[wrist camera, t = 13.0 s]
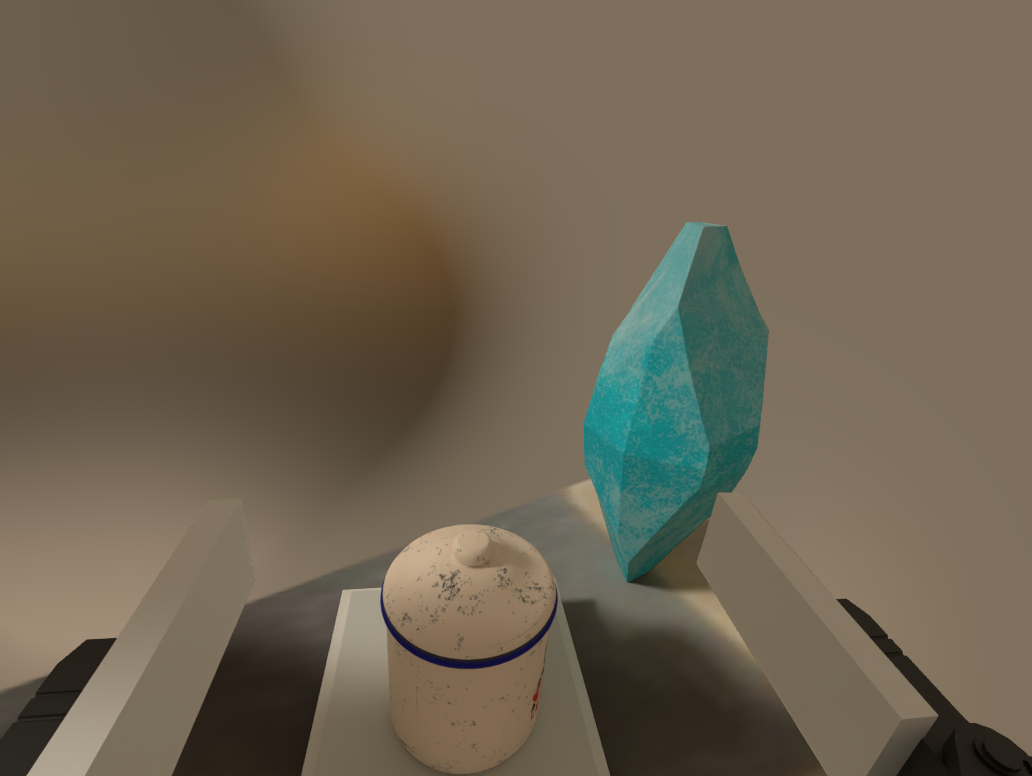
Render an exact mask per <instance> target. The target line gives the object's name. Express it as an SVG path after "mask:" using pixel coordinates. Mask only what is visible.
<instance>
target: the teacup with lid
mask: <svg viewBox="0 0 1032 776" xmlns="http://www.w3.org/2000/svg"><path fill="white" fill-rule="evenodd" d="M380 604H381V612H382V616H383V619H384V622H385V624H386V629H387V652H388V676H389V699H390V714H391V719H392V723H393V726H394V729H395V732H396V734H397V736H398V738H399V739H400V741H401V743H402V744H403V745H404V747H405V748H406V749H407V750H408V751H409V752H410V753H411V755H413V756H414V757H415V758H416V759H417V760H419V761H420V762H422V763H423V764H425V765H427V766H429V767H431V768H433V769H436V770H439V771H442V772H446V773H453V774H471V773H477V772H481V771H484V770H488V769H490V768H493V767H495V766H497V765H499V764H501V763H502V762H504V761H505V760H507V759H508V758H510V757H511V756H512V755H513V754H514V753H515V752H516V751H517V750H518V749H519V748H520V747H521V746H522V745H523V744H524V742H525V741H526V740H527V738H528V736H529V735H530V733H531V731H532V729H533V727H534V724H535V721H536V718H537V714H538V710H539V703H540V695H541V688H542V680H543V673H544V665H545V658H546V650H547V643H548V635H549V628H550V626H551V624H552V622H553V620H554V617H555V614H556V610H557V604H558V592H557V586H556V582H555V579H554V576H553V573H552V570H551V568H550V566H549V565H548V563H547V561H546V560H545V558H544V557H543V556H542V555H541V553H540V552H539V551H538V550H537V549H536V548H535V547H534V546H533V545H531V544H530V543H529V542H527V541H526V540H524V539H523V538H521V537H519V536H518V535H516V534H513V533H511V532H509V531H506V530H503V529H500V528H496V527H492V526H486V525H473V524H470V525H456V526H450V527H445V528H442V529H438V530H435V531H433V532H430V533H428V534H425V535H424V536H422V537H420V538H418V539H416V540H415V541H413V542H412V543H411V544H409V545H408V546H407V547H406V548H405V549H404V550H402V552H401V553H400V554H399V555H398V556H397V557H396V559H395V560H394V561H393V563H392V564H391V566H390V568H389V570H388V572H387V574H386V577H385V579H384V582H383V585H382V589H381V596H380Z"/></svg>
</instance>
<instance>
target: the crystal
mask: <svg viewBox="0 0 1032 776" xmlns="http://www.w3.org/2000/svg"><path fill="white" fill-rule="evenodd" d="M768 334H769V330H768V328H767V326H766V324H765V322H764V320H763V318H762V317H761V315H760V313H759V311H758V308H757V306H756V303H755V301H754V298H753V296H752V294H751V291H750V289H749V287H748V284H747V282H746V279H745V277H744V274H743V272H742V269H741V267H740V264H739V261H738V258H737V255H736V252H735V249H734V247H733V243H732V240H731V237H730V234H729V231H728V228H727V226H722V225H715V224H709V223H701V222H687V223H686V224H685V226H684V227H683V229H682V230H681V232H680V234H679V235H678V237H677V238H676V240H675V241H674V243H673V244H672V246H671V248H670V249H669V251H668V252H667V254H666V255H665V257H664V258H663V260H662V262H661V263H660V265H659V266H658V268H657V269H656V271H655V272H654V274H653V275H652V277H651V279H650V280H649V282H648V283H647V285H646V286H645V288H644V289H643V291H642V292H641V294H640V296H639V297H638V299H637V300H636V302H635V303H634V305H633V307H632V308H631V310H630V311H629V313H628V314H627V316H626V317H625V319H624V320H623V322H622V323H621V325H620V326H619V327H618V329H617V330H616V332H615V333H614V334H613V337H612V339H611V342H610V345H609V348H608V351H607V353H606V356H605V359H604V362H603V365H602V367H601V370H600V373H599V376H598V379H597V382H596V385H595V389H594V392H593V395H592V399H591V402H590V405H589V408H588V412H587V414H586V418H585V421H584V453H585V467H586V469H587V471H588V474H589V476H590V478H591V480H592V482H593V485H594V487H595V489H596V492H597V496H598V499H599V502H600V506H601V509H602V512H603V516H604V519H605V522H606V526H607V529H608V532H609V536H610V539H611V542H612V546H613V549H614V552H615V556H616V559H617V561H618V564H619V566H620V568H621V570H622V572H623V574H624V576H625V579H626V581H627V582H631V581H632V580H634V579H636V578H638V577H640V576H642V575H644V574H646V573H648V572H649V571H650V570H651V569H652V568H653V567H654V566H655V565H656V564H657V563H659V562H660V561H661V560H662V559H663V558H664V557H665V556H666V555H667V554H668V553H669V552H670V551H671V550H672V549H674V548H675V547H676V546H677V545H678V544H679V543H680V542H681V541H683V540H684V539H685V538H686V537H687V536H688V535H689V534H690V533H692V532H693V531H694V530H695V529H696V528H697V527H698V526H700V525H701V524H702V523H703V522H704V521H705V520H706V519H708V518H709V517H710V516H711V514H712V511H713V507H714V504H715V501H716V497H717V494H718V493H731V492H732V491H733V489H734V488H735V487H736V485H737V484H738V482H739V481H740V479H741V478H742V476H743V475H744V473H745V472H746V470H747V468H748V467H749V464H750V462H751V460H752V458H753V456H754V454H755V451H756V449H757V445H758V436H759V429H760V420H761V412H762V402H763V392H764V379H765V368H766V357H767V356H766V355H767V346H768Z"/></svg>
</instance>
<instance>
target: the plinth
mask: <svg viewBox="0 0 1032 776" xmlns="http://www.w3.org/2000/svg"><path fill="white" fill-rule="evenodd" d="M554 579H555V578H554ZM555 582H556V580H555ZM556 586H557V584H556ZM381 589H382V588H370V589H352V590H343V592H342V596H341V601H340V605H339V609H338V614H337V618H336V623H335V627H334V632H333V636H332V641H331V645H330V650H329V654H328V658H327V663H326V667H325V672H324V676H323V681H322V685H321V690H320V694H319V698H318V703H317V707H316V712H315V716H314V721H313V725H312V730H311V734H310V739H309V743H308V747H307V752H306V756H305V761H304V765H303V770H302V774H301V776H610V773H609V770H608V766H607V762H606V759H605V755H604V752H603V748H602V745H601V741H600V737H599V734H598V730H597V727H596V723H595V719H594V716H593V712H592V709H591V705H590V702H589V698H588V694H587V691H586V687H585V684H584V680H583V677H582V673H581V669H580V666H579V662H578V659H577V655H576V652H575V648H574V644H573V641H572V637H571V634H570V630H569V626H568V623H567V619H566V616H565V612H564V609H563V605H562V601H561V598H560V594H559V591H558V587H557V592H558V604H557V610H556V614H555V617H554V620H553V622H552V624H551V626H550V628H549V635H548V643H547V650H546V658H545V665H544V673H543V680H542V688H541V695H540V703H539V710H538V714H537V718H536V721H535V724H534V727H533V729H532V731H531V733H530V735H529V736H528V738H527V740H526V741H525V742H524V744H523V745H522V746H521V747H520V748H519V749H518V750H517V751H516V752H515V753H514V754H513V755H512V756H511V757H510V758H508V759H507V760H505V761H504V762H502V763H501V764H499V765H497V766H495V767H493V768H490V769H488V770H484V771H481V772H477V773H471V774H453V773H446V772H442V771H439V770H436V769H433V768H431V767H429V766H427V765H425V764H423V763H422V762H420V761H419V760H417V759H416V758H415V757H414V756H413V755H411V753H410V752H409V751H408V750H407V749H406V748H405V747H404V745H403V744H402V743H401V741H400V739H399V738H398V736H397V734H396V732H395V729H394V726H393V723H392V719H391V714H390V699H389V676H388V652H387V629H386V624H385V622H384V619H383V616H382V612H381V604H380V596H381Z"/></svg>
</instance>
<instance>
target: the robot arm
mask: <svg viewBox="0 0 1032 776" xmlns="http://www.w3.org/2000/svg"><path fill="white" fill-rule="evenodd" d="M696 564H697V566H698V568H699V569H700V571H701V572H702V574H703V576H704V577H705V579H706V580H707V582H708V584H709V585H710V587H711V588H712V590H713V592H714V593H715V595H716V597H717V598H718V600H719V601H720V603H721V605H722V606H723V608H724V609H725V611H726V613H727V614H728V616H729V617H730V619H731V621H732V622H733V624H734V626H735V627H736V629H737V630H738V632H739V634H740V635H741V637H742V638H743V640H744V642H745V643H746V645H747V647H748V648H749V650H750V651H751V653H752V655H753V656H754V658H755V659H756V661H757V663H758V664H759V666H760V667H761V669H762V671H763V672H764V674H765V676H766V677H767V679H768V680H769V682H770V684H771V685H772V687H773V688H774V690H775V692H776V693H777V695H778V696H779V698H780V700H781V701H782V703H783V705H784V706H785V708H786V709H787V711H788V713H789V714H790V716H791V717H792V719H793V721H794V722H795V724H796V725H797V727H798V729H799V730H800V732H801V734H802V735H803V737H804V738H805V740H806V742H807V743H808V745H809V746H810V748H811V750H812V751H813V753H814V754H815V756H816V758H817V759H818V761H819V763H820V764H821V766H822V767H823V769H824V771H825V772H826V774H827V775H828V776H1032V757H1031V756H1028V755H1027V754H1026V753H1025V752H1024V751H1023V750H1022V749H1021V748H1019V747H1018V746H1017V745H1016V744H1014V743H1013V742H1012V741H1011V740H1010V739H1008V738H1006V737H1005V736H1003V735H1001V734H999V733H998V732H996V731H994V730H993V729H990V728H988V727H985V726H982V725H979V724H976V723H969V722H968V721H967V720H966V719H965V718H964V717H963V716H962V715H961V714H960V713H959V712H958V711H957V710H956V709H955V708H954V706H952V704H951V703H950V702H949V701H948V700H947V699H946V698H945V697H944V696H943V695H942V694H941V692H940V691H939V690H938V689H937V688H936V687H935V686H934V685H933V684H932V683H931V682H930V680H929V679H928V678H927V677H926V676H925V675H924V674H923V673H922V672H921V671H920V670H919V669H918V667H917V666H916V665H915V664H914V663H913V662H912V661H911V660H910V659H909V658H908V657H907V656H904V655H903V653H902V652H903V651H902V650H901V649H900V648H899V647H898V646H897V645H896V644H895V643H894V642H893V640H892V639H888V635H887V634H886V633H885V632H884V631H883V630H882V629H881V627H880V626H879V625H878V624H877V623H876V622H875V621H874V620H873V619H872V618H871V617H870V616H869V615H868V614H867V613H865V612H864V611H863V610H861V609H860V608H858V607H857V606H856V605H854V604H853V603H851V602H850V601H849V600H847V599H835V598H834V596H833V595H832V594H831V593H830V592H829V591H828V590H827V588H826V587H825V586H824V585H823V584H822V583H821V582H820V581H819V579H818V578H817V577H816V576H815V575H814V574H813V573H812V571H811V570H810V569H809V568H808V567H807V566H806V565H805V564H804V563H803V561H802V560H801V559H800V558H799V557H798V556H797V554H796V553H795V552H794V551H793V550H792V549H791V548H790V547H789V545H788V544H787V543H786V542H785V541H784V540H783V539H782V538H781V536H780V535H779V534H778V533H777V532H776V531H775V530H774V529H773V527H772V526H771V525H770V524H769V523H768V522H767V520H766V519H765V518H764V517H763V516H762V515H761V514H760V513H759V511H757V509H756V508H755V507H754V506H753V505H752V504H751V502H749V500H748V499H747V498H746V497H745V496H744V494H743V493H741V492H740V493H739V492H737V493H736V492H732V493H718V494H717V497H716V501H715V504H714V507H713V511H712V514H711V517H710V520H709V524H708V527H707V530H706V533H705V537H704V540H703V543H702V546H701V550H700V553H699V556H698V559H697V563H696ZM254 581H255V577H254V571H253V565H252V560H251V554H250V548H249V542H248V536H247V531H246V525H245V519H244V513H243V507H242V501H241V499H209V500H208V501H207V503H206V504H205V506H204V507H203V509H202V510H201V512H200V513H199V515H198V516H197V518H196V519H195V521H194V522H193V524H192V525H191V527H190V528H189V530H188V532H187V533H186V535H185V536H184V538H183V539H182V541H181V542H180V544H179V545H178V547H177V548H176V550H175V551H174V553H173V554H172V556H171V557H170V559H169V560H168V562H167V563H166V565H165V566H164V568H163V570H162V571H161V573H160V574H159V576H158V577H157V578H156V580H155V582H154V583H153V585H152V586H151V588H150V589H149V591H148V592H147V594H146V595H145V597H144V598H143V600H142V601H141V603H140V604H139V606H138V607H137V609H136V611H135V612H134V613H133V615H132V616H131V618H130V620H129V621H128V623H127V624H126V626H125V627H124V629H123V630H122V632H121V633H120V635H119V636H118V638H108V639H89V640H86V641H85V642H83V643H82V644H81V645H80V646H78V647H77V648H76V649H75V650H74V651H72V652H71V653H70V654H69V655H68V656H66V657H65V658H64V659H63V660H62V661H60V662H59V663H58V664H57V665H56V666H55V668H54V669H53V670H52V672H51V673H50V674H49V676H48V677H47V678H46V680H45V681H44V683H43V684H42V685H41V687H40V688H39V689H38V691H37V692H36V696H35V698H34V699H31V700H30V701H29V703H28V704H27V705H26V707H25V708H24V709H23V711H22V712H21V714H20V715H19V716H18V720H17V722H16V723H13V724H12V726H11V727H10V728H9V730H8V731H7V732H6V734H5V735H4V736H3V738H2V739H1V740H0V776H172V774H173V771H174V769H175V767H176V764H177V762H178V759H179V757H180V755H181V752H182V750H183V748H184V745H185V743H186V741H187V738H188V736H189V734H190V731H191V729H192V727H193V724H194V722H195V720H196V717H197V715H198V713H199V710H200V708H201V706H202V703H203V701H204V699H205V696H206V694H207V692H208V689H209V687H210V685H211V682H212V680H213V678H214V675H215V673H216V670H217V668H218V666H219V663H220V661H221V659H222V656H223V654H224V652H225V649H226V647H227V645H228V642H229V640H230V638H231V635H232V633H233V631H234V628H235V626H236V624H237V621H238V619H239V617H240V614H241V612H242V610H243V607H244V605H245V603H246V600H247V598H248V595H249V593H250V591H251V588H252V586H253V584H254Z"/></svg>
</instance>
